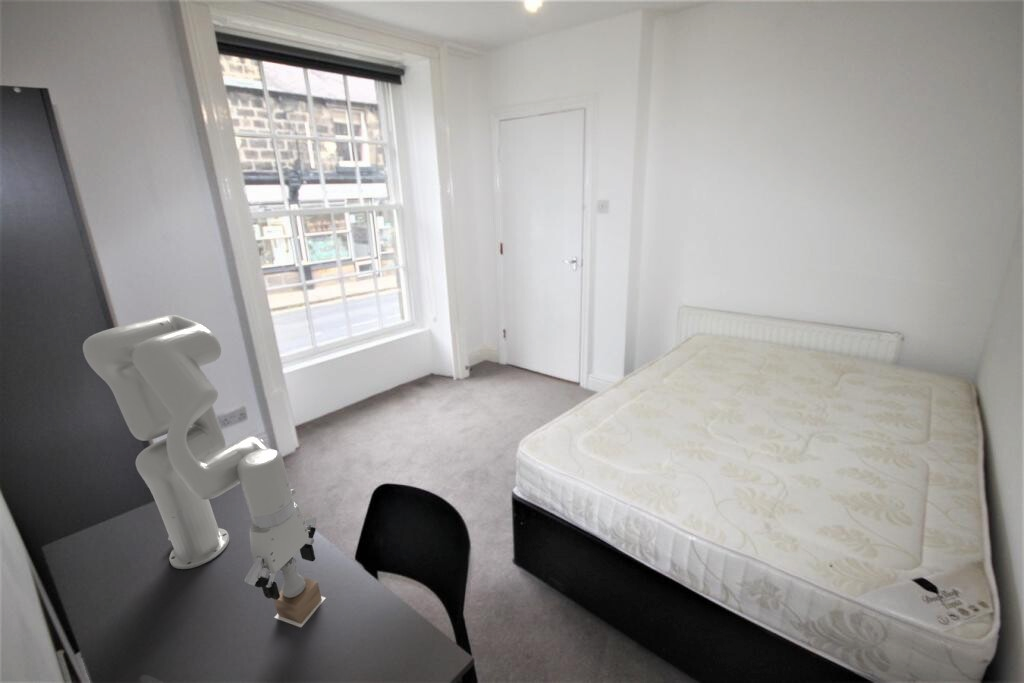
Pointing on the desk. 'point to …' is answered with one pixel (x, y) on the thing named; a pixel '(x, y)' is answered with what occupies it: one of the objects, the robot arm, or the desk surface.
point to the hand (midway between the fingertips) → (291, 577)
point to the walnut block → (299, 602)
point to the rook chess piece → (292, 580)
